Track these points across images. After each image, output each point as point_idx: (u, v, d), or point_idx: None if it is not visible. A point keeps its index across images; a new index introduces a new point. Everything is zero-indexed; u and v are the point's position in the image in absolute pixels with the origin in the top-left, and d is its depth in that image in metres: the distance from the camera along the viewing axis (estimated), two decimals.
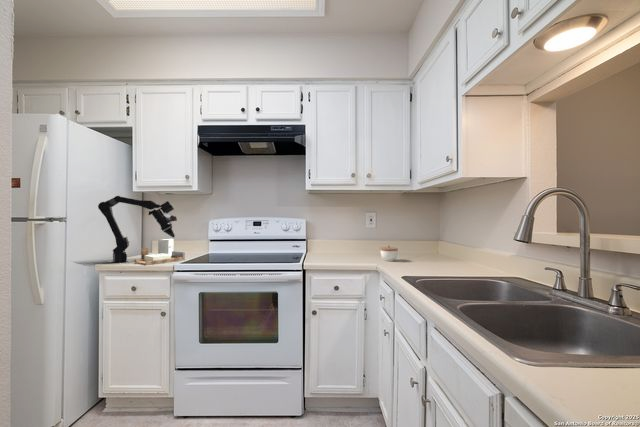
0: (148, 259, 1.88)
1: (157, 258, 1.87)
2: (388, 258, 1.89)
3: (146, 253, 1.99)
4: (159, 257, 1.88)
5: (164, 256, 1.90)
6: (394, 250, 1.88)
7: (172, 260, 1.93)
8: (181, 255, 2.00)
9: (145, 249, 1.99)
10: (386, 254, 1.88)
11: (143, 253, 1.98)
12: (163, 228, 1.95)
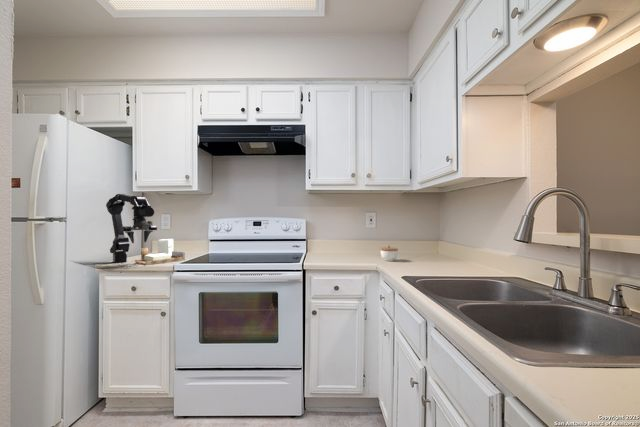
0: (148, 259, 1.88)
1: (157, 258, 1.87)
2: (388, 258, 1.89)
3: (146, 253, 1.99)
4: (159, 257, 1.88)
5: (164, 256, 1.90)
6: (394, 250, 1.88)
7: (172, 260, 1.93)
8: (181, 255, 2.00)
9: (145, 249, 1.99)
10: (386, 254, 1.88)
11: (143, 253, 1.98)
12: (120, 229, 1.77)
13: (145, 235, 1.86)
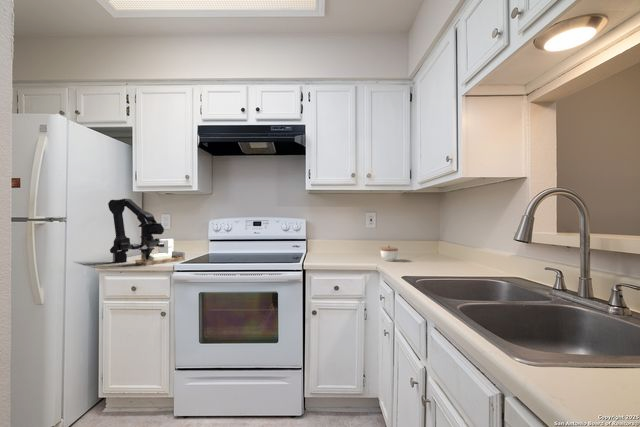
0: (149, 259, 1.88)
1: (158, 258, 1.87)
2: (388, 258, 1.89)
3: None
4: (160, 257, 1.88)
5: (165, 256, 1.91)
6: (394, 250, 1.88)
7: (172, 260, 1.93)
8: (181, 255, 2.00)
9: None
10: (386, 254, 1.88)
11: None
12: (128, 247, 1.80)
13: (147, 252, 1.87)
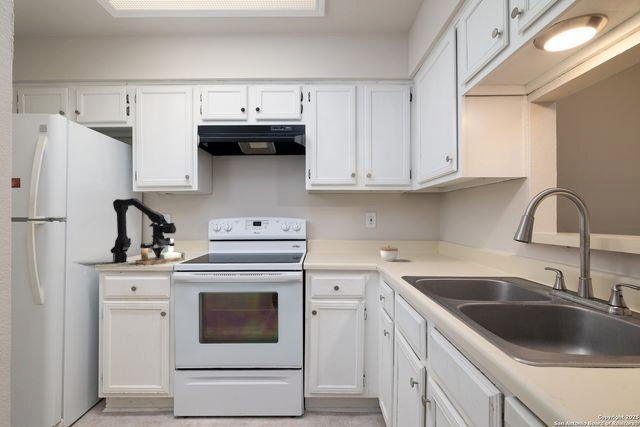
0: (160, 258, 1.94)
1: (168, 257, 1.92)
2: (388, 258, 1.89)
3: (146, 253, 1.99)
4: (170, 256, 1.93)
5: (175, 255, 1.96)
6: (394, 250, 1.88)
7: (172, 260, 1.93)
8: (181, 255, 2.00)
9: (145, 249, 1.99)
10: (386, 254, 1.88)
11: (143, 253, 1.98)
12: (140, 246, 1.86)
13: (158, 251, 1.93)
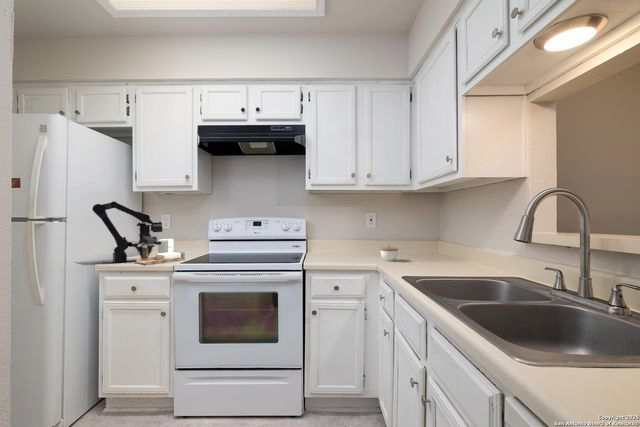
0: (160, 258, 1.94)
1: (168, 257, 1.92)
2: (388, 258, 1.89)
3: (146, 253, 1.99)
4: (170, 256, 1.93)
5: (175, 255, 1.96)
6: (394, 250, 1.88)
7: (172, 260, 1.93)
8: (181, 255, 2.00)
9: (145, 249, 1.99)
10: (386, 254, 1.88)
11: (143, 253, 1.98)
12: None
13: (148, 249, 2.02)
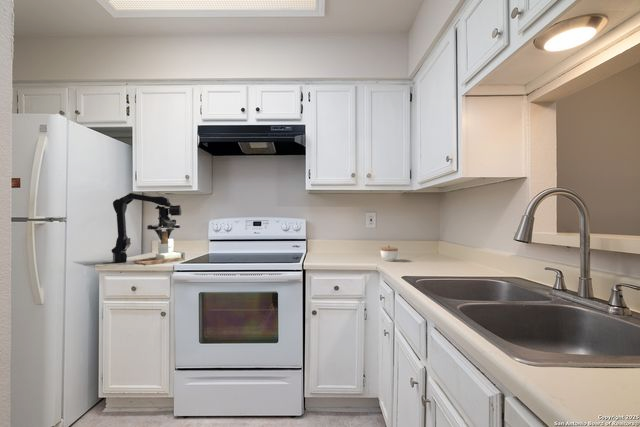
0: (160, 258, 1.94)
1: (168, 257, 1.92)
2: (388, 258, 1.89)
3: (166, 236, 1.98)
4: (170, 256, 1.93)
5: (175, 255, 1.96)
6: (394, 250, 1.88)
7: (172, 260, 1.93)
8: (181, 255, 2.00)
9: (165, 232, 1.97)
10: (386, 254, 1.88)
11: (163, 236, 1.97)
12: (147, 227, 1.92)
13: None
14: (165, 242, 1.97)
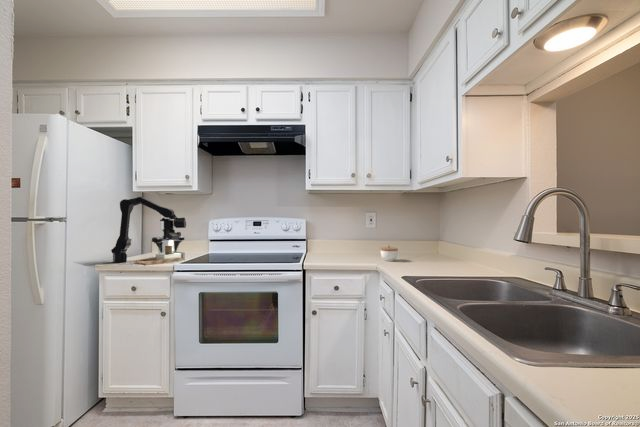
0: (160, 258, 1.94)
1: (168, 257, 1.92)
2: (388, 258, 1.89)
3: (170, 251, 1.97)
4: (170, 256, 1.93)
5: (175, 255, 1.96)
6: (394, 250, 1.88)
7: (172, 260, 1.93)
8: (181, 255, 2.00)
9: (169, 247, 1.96)
10: (386, 254, 1.88)
11: (167, 251, 1.96)
12: (152, 240, 1.91)
13: (175, 245, 2.02)
14: None
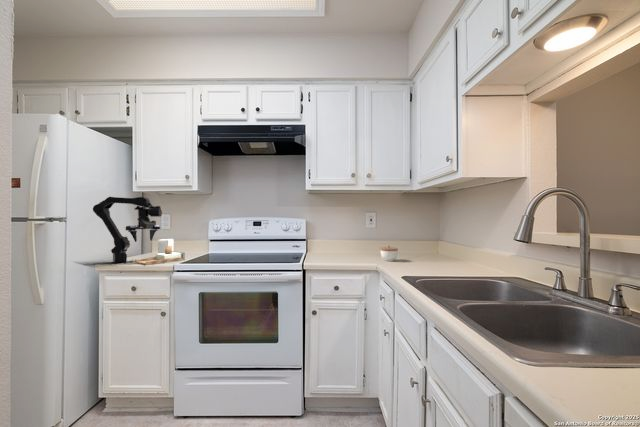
0: (160, 258, 1.94)
1: (168, 257, 1.92)
2: (388, 258, 1.89)
3: (170, 251, 1.97)
4: (170, 256, 1.93)
5: (175, 255, 1.96)
6: (394, 250, 1.88)
7: (172, 260, 1.93)
8: (181, 255, 2.00)
9: (169, 247, 1.96)
10: (386, 254, 1.88)
11: (167, 251, 1.96)
12: (126, 228, 1.88)
13: (151, 234, 1.99)
14: None
